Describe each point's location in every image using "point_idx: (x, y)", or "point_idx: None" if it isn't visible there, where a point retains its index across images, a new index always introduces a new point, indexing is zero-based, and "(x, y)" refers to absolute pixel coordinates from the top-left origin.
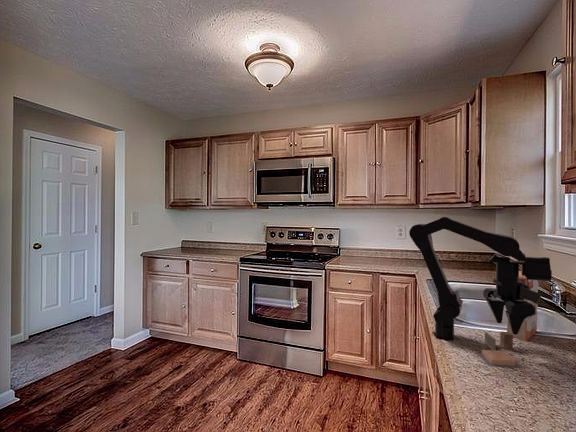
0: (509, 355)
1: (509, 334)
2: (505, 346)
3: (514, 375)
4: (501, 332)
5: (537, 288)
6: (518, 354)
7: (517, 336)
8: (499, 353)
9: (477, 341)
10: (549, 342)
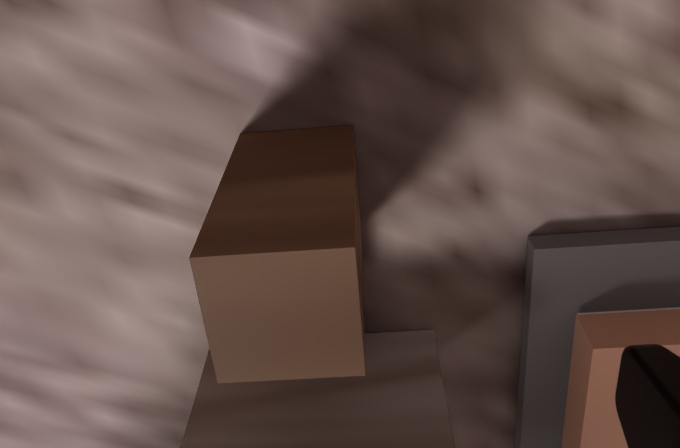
0: (563, 251)
1: (330, 292)
2: (360, 241)
3: None
4: (254, 378)
5: None
6: (441, 88)
7: None
8: None
9: (136, 399)
10: None
